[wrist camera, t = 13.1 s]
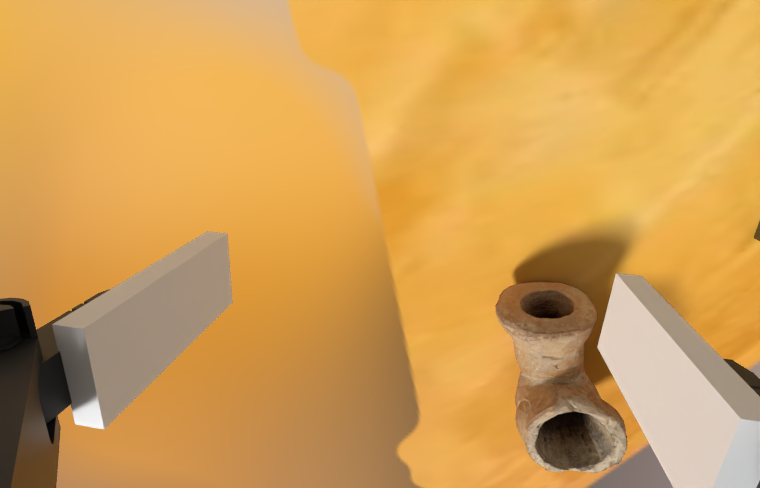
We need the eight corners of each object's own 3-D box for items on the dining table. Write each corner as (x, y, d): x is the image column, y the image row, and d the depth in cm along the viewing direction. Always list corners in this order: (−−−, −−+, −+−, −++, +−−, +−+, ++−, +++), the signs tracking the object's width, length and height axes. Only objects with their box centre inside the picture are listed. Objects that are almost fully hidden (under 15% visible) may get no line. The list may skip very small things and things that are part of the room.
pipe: (582, 268, 43) (616, 318, 34) (601, 404, 48) (636, 481, 39) (488, 285, 46) (497, 336, 36) (515, 414, 50) (529, 489, 41)
